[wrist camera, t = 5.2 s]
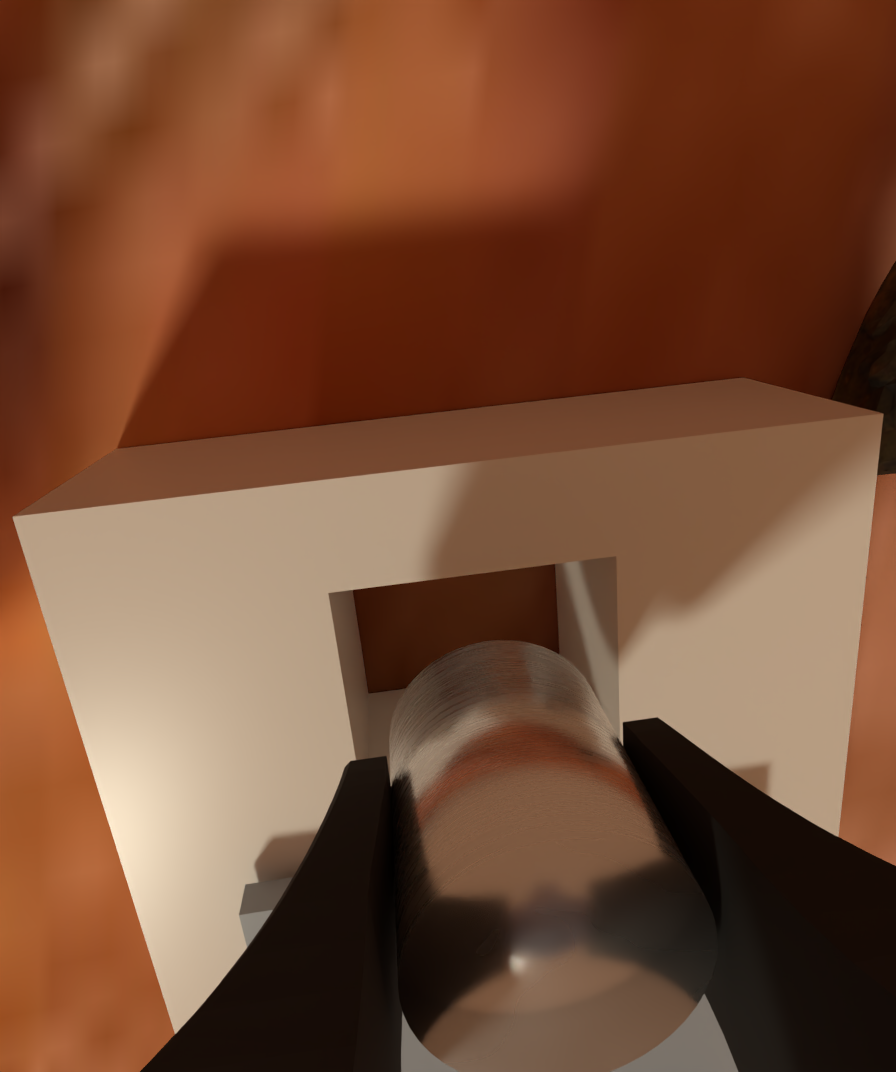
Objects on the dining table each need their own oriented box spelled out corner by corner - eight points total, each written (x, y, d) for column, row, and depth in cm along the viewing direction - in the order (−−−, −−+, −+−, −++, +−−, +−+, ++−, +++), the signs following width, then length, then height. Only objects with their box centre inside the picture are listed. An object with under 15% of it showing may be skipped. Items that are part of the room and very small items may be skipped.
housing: (251, 982, 24) (219, 1174, 19) (115, 449, 18) (12, 516, 13) (721, 907, 25) (813, 1070, 20) (743, 377, 19) (883, 414, 14)
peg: (403, 836, 14) (418, 1109, 10) (375, 656, 13) (376, 869, 8) (603, 806, 14) (714, 1058, 10) (596, 625, 13) (721, 815, 8)
